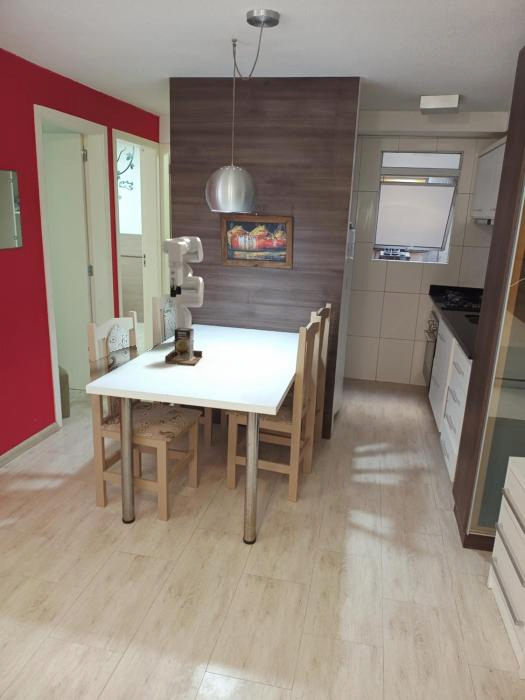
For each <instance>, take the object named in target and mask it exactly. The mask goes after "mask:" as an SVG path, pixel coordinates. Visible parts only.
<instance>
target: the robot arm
mask: <svg viewBox="0 0 525 700" xmlns="http://www.w3.org/2000/svg"><path fill="white" fill-rule="evenodd" d="M203 250H204V249H203V245H202V241H201V239H200V237H198V236H180V237H175V238H168V239H164V240H163V241H162V243H161V251H162V252H163V254H165V255H168V256H167V257H168V263H167V264H168V268H169V287H170V288H169V291H170V293H169V295H170V296H169V297H170V298H173V301H174V308H175V309H174V310H175V329H176V328H190V329H192V312H191V311H190V310H189V308H201V307H202V306H203V302H204V290H205V283H204V279H203V278H202V277H201V276H193V269H192V268H191V266H190V265H189V264H188V263H200V262H201V263H202V262H203V259H204V252H203ZM194 342H195V340H194V339H193V343H194ZM173 343H174V344H175V339H173Z"/></svg>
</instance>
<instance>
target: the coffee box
mask: <svg viewBox="0 0 525 700" xmlns="http://www.w3.org/2000/svg"><path fill="white" fill-rule="evenodd" d="M194 333H195V331H194V328H191V329H190V328H176V327H175V329H174V340H175V343H174V349H175V358H178V359H189V360H190V359H191V358H193V357H194V356H193V350H194V342H193V340H194Z"/></svg>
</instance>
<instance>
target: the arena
mask: <svg viewBox="0 0 525 700" xmlns="http://www.w3.org/2000/svg"><path fill="white" fill-rule="evenodd" d="M193 356H194V357H193V358H191V359H190V360H189V359H178V358H175V348H174V349H172V350H171V351H170V352H169V353H167V355H165V357H164V361H165V363H164V364H165V365H176V364H177V365H178V366H193V367H195V366H196V365H197V364H198V363H199V362H200V361H201V360H202V359H203V350H194V349H193ZM201 358H202V359H201ZM200 359H201V360H200ZM199 360H200V361H199Z"/></svg>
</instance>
